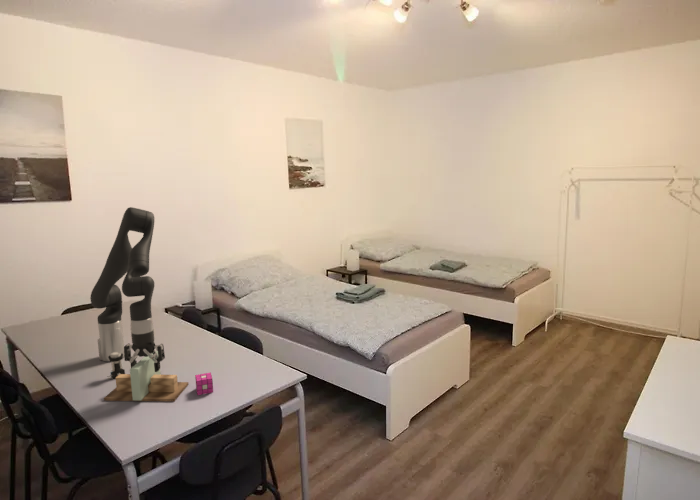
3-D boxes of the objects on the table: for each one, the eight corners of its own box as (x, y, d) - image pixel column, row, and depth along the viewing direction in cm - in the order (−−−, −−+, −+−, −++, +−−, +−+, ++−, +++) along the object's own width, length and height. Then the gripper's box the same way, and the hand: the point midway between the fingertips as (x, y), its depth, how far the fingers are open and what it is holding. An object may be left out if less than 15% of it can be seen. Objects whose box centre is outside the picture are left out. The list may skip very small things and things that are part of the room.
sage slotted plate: (153, 379, 173) (151, 351, 171) (161, 379, 173) (158, 351, 171) (132, 400, 158) (129, 369, 156) (140, 400, 158) (138, 369, 155)
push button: (110, 382, 174) (108, 358, 172) (104, 378, 177) (102, 355, 175) (127, 376, 179) (125, 352, 177) (121, 372, 182) (118, 349, 180)
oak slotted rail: (104, 400, 159) (102, 383, 158) (123, 383, 172) (121, 368, 171) (174, 401, 159) (173, 384, 158) (188, 384, 171) (187, 369, 170)
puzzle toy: (197, 395, 163) (196, 381, 162) (196, 388, 168) (195, 375, 167) (213, 392, 165) (212, 378, 164) (211, 386, 171) (210, 372, 170)
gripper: (165, 326, 165) (169, 366, 167) (128, 326, 165) (132, 366, 168) (156, 333, 157) (160, 375, 160) (117, 333, 158) (121, 375, 161)
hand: (145, 371), depth 164 cm, fingers open, 8 cm apart
